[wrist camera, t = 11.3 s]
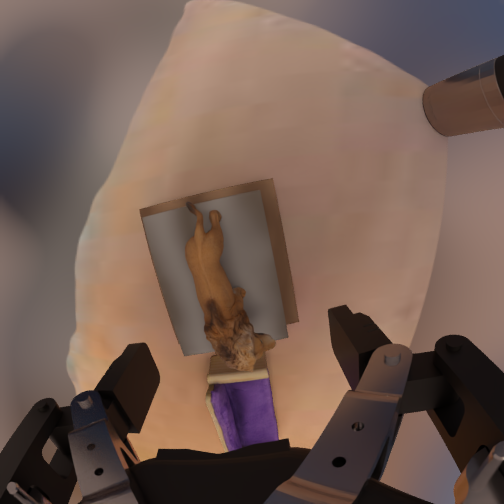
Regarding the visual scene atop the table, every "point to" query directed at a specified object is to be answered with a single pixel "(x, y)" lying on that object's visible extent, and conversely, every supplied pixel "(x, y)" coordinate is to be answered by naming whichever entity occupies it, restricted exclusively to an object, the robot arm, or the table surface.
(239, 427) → the toy sofa
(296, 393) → the table surface
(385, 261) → the table surface
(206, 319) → the lion figurine
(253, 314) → the wooden box
